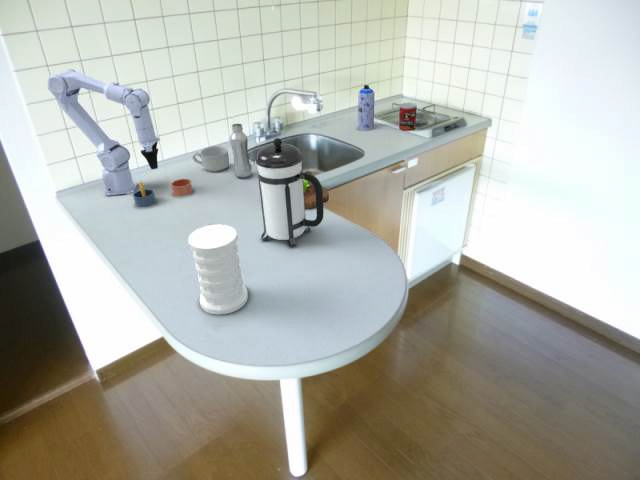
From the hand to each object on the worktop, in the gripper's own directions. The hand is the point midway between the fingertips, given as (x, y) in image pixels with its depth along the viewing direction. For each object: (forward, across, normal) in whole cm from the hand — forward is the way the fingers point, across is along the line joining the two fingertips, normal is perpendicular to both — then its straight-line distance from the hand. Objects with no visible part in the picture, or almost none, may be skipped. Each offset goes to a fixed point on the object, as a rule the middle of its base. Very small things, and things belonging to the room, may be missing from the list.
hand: (154, 164), depth 165 cm
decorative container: (+12, -72, -12) cm, 74 cm away
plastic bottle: (+11, +2, -31) cm, 33 cm away
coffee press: (+12, -48, -36) cm, 61 cm away
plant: (+12, -25, -45) cm, 52 cm away
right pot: (+11, -4, -7) cm, 14 cm away
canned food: (+13, +27, -113) cm, 117 cm away
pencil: (+10, -8, +5) cm, 14 cm away
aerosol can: (+12, +36, -96) cm, 103 cm away
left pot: (+10, -8, +5) cm, 14 cm away
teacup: (+11, +14, -20) cm, 27 cm away
